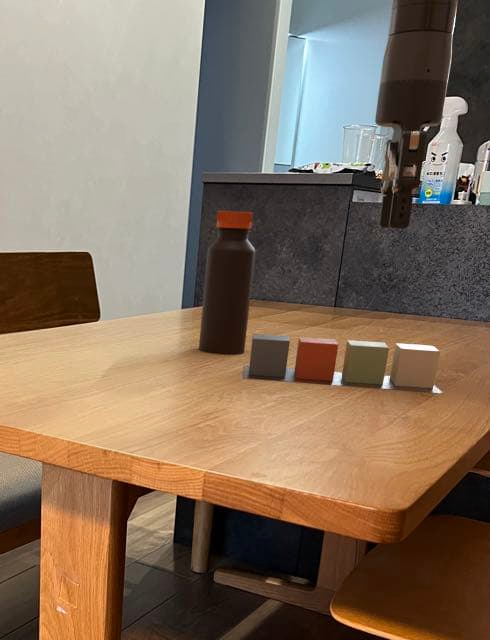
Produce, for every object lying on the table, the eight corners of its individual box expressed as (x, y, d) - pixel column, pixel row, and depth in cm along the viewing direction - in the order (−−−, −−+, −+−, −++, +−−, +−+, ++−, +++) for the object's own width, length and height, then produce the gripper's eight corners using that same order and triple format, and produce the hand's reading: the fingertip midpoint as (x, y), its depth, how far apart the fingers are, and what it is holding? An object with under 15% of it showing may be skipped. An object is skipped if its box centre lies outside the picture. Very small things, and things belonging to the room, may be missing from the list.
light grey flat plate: (427, 383, 113) (428, 378, 113) (442, 398, 104) (443, 393, 103) (243, 369, 117) (243, 365, 116) (242, 382, 107) (242, 378, 107)
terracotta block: (330, 375, 112) (335, 339, 110) (333, 381, 108) (338, 344, 106) (294, 372, 113) (298, 336, 111) (295, 378, 109) (300, 341, 107)
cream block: (426, 382, 110) (433, 345, 109) (433, 388, 106) (440, 351, 104) (389, 379, 111) (395, 343, 109) (394, 385, 107) (401, 348, 105)
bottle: (207, 358, 124) (221, 211, 117) (192, 350, 130) (204, 210, 123) (251, 358, 126) (267, 213, 119) (233, 351, 132) (248, 212, 125)
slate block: (284, 371, 113) (288, 336, 111) (285, 377, 109) (289, 340, 107) (248, 369, 114) (252, 333, 112) (248, 374, 110) (252, 338, 108)
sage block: (378, 378, 111) (384, 342, 109) (382, 384, 107) (389, 347, 105) (341, 375, 112) (347, 340, 110) (345, 382, 108) (350, 345, 106)
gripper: (461, 71, 93) (435, 230, 99) (435, 88, 106) (414, 227, 112) (389, 71, 94) (368, 228, 100) (372, 88, 107) (355, 226, 113)
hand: (392, 227), depth 106 cm, fingers open, 8 cm apart
